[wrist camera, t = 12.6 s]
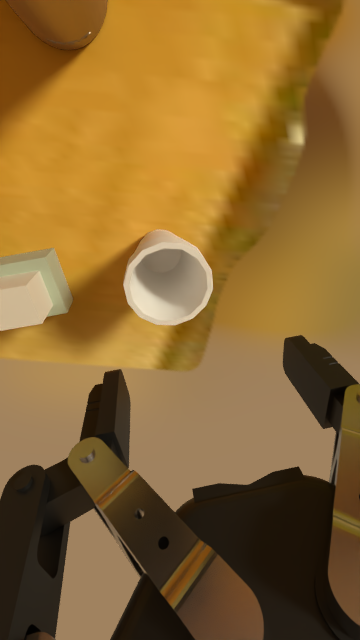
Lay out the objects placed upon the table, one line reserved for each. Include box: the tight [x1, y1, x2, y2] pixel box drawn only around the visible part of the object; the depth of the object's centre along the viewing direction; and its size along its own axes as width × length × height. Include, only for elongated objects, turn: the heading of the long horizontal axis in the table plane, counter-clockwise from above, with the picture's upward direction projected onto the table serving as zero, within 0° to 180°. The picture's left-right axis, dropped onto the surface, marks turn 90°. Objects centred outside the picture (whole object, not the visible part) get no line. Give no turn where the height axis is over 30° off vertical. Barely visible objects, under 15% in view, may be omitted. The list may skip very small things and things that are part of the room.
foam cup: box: [123, 229, 213, 325], centre depth 35 cm, size 10×9×13 cm
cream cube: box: [0, 270, 53, 331], centre depth 35 cm, size 5×5×5 cm
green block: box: [0, 248, 73, 317], centre depth 39 cm, size 8×8×4 cm
